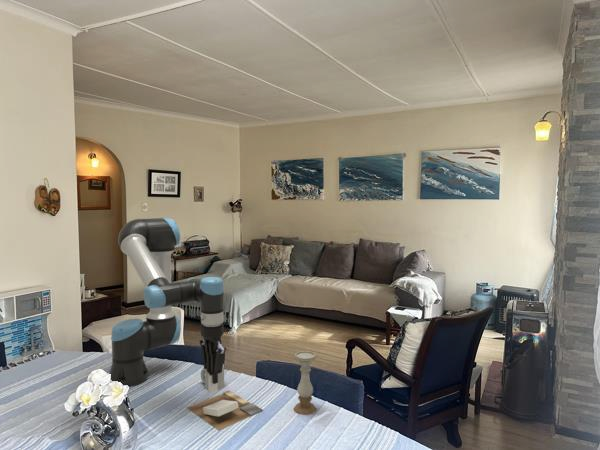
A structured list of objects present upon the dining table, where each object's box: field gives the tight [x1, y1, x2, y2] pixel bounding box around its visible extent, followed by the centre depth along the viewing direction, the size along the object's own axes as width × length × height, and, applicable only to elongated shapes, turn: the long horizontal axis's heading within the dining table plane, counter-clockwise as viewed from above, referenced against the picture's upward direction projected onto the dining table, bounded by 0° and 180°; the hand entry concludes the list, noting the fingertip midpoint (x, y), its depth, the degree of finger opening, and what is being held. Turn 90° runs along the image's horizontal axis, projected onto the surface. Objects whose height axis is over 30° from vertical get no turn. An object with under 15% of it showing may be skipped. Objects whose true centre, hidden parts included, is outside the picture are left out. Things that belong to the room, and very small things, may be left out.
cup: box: [200, 363, 225, 390], centre depth 164 cm, size 7×10×9 cm
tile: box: [203, 400, 239, 417], centre depth 143 cm, size 2×8×9 cm
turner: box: [222, 389, 264, 417], centre depth 150 cm, size 18×5×2 cm, turn 44°
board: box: [186, 393, 265, 431], centre depth 146 cm, size 20×18×1 cm
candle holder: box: [293, 350, 318, 416], centre depth 146 cm, size 9×9×20 cm
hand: (213, 391), depth 145 cm, fingers closed
